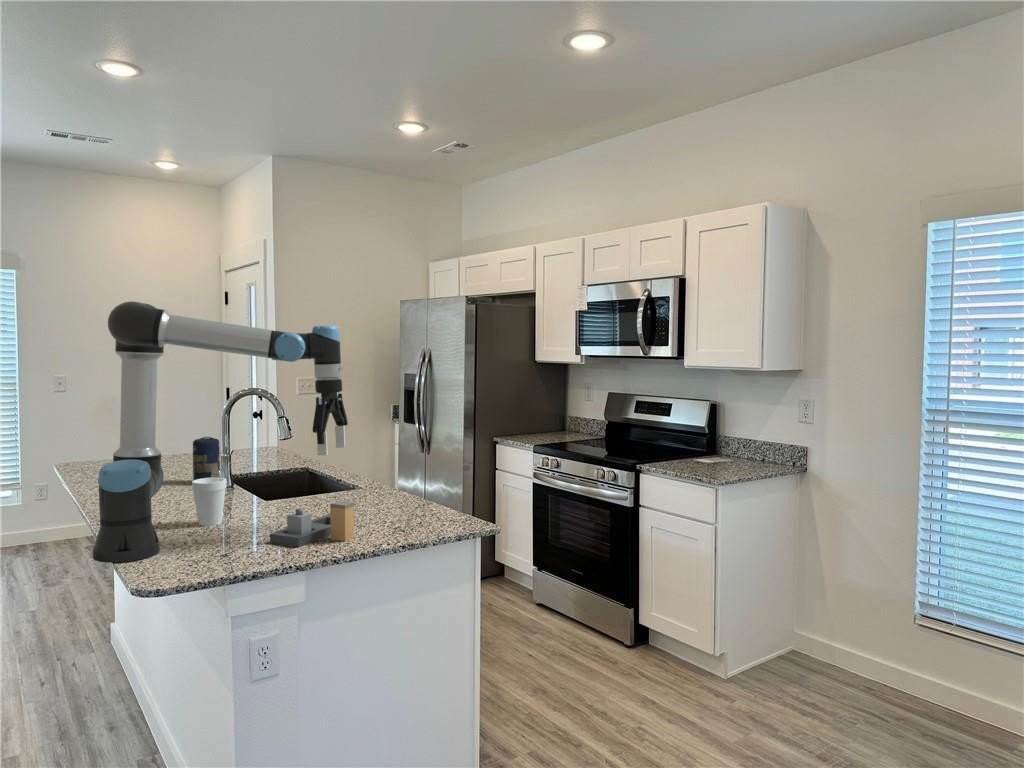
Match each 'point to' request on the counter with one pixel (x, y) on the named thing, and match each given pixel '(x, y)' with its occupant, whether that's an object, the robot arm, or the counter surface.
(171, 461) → the counter surface
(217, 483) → the foam cup
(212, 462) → the canister
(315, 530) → the gray fixture base
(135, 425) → the robot arm
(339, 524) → the plug
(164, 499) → the counter surface
